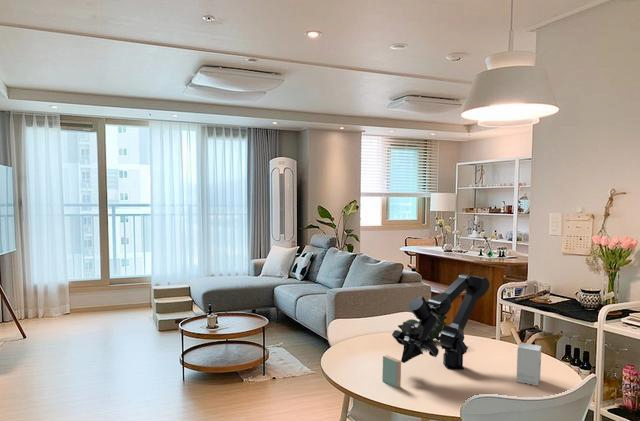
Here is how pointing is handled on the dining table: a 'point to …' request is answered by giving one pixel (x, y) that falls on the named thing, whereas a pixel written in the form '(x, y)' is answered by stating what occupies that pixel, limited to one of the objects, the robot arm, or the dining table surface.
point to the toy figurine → (435, 331)
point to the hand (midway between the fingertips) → (402, 362)
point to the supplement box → (528, 363)
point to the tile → (391, 371)
